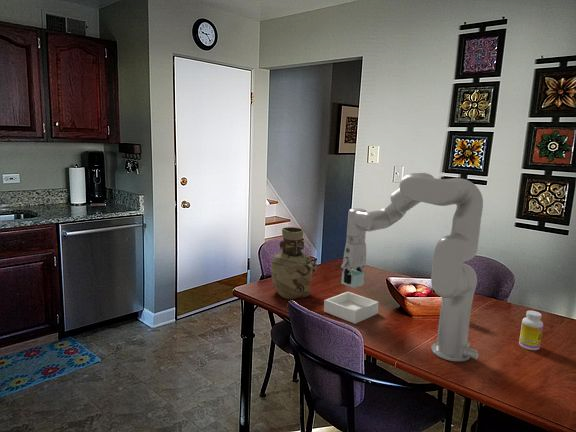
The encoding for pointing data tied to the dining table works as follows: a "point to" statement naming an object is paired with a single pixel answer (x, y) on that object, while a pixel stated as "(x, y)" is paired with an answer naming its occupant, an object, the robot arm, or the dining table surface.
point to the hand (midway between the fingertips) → (352, 281)
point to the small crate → (354, 279)
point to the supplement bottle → (531, 331)
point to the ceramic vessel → (292, 266)
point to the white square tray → (351, 307)
